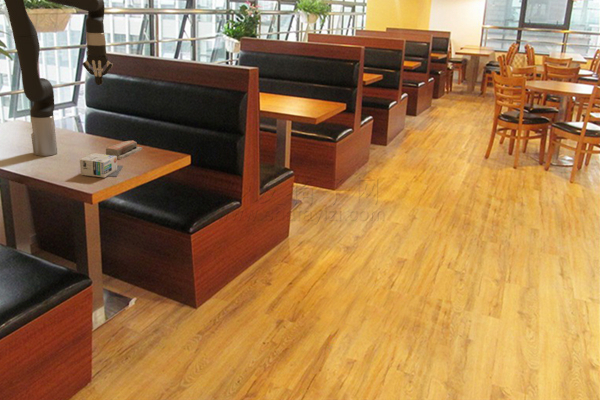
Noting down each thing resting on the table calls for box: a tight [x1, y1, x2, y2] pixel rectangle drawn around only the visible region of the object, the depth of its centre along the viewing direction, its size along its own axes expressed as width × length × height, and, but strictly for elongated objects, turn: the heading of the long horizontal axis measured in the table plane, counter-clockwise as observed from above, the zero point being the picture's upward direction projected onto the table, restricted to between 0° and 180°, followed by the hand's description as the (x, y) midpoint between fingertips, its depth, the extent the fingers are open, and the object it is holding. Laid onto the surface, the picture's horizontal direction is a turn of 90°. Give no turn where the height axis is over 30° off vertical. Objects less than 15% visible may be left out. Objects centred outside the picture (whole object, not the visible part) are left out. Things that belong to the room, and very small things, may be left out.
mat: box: [85, 164, 124, 177], centre depth 234 cm, size 12×14×1 cm
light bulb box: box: [79, 152, 118, 179], centre depth 229 cm, size 11×7×11 cm
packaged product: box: [103, 140, 143, 160], centre depth 259 cm, size 18×5×10 cm
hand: (99, 84), depth 243 cm, fingers closed
